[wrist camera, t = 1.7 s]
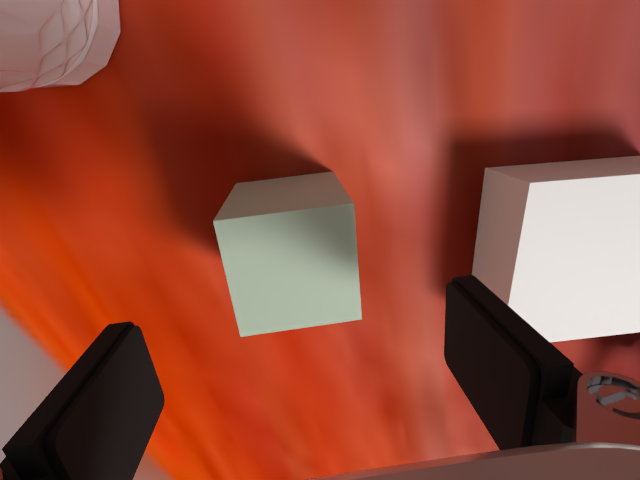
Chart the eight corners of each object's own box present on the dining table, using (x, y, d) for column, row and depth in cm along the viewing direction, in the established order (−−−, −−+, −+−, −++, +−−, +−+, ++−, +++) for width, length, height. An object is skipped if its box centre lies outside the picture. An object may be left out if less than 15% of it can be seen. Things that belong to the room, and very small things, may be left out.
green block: (236, 182, 17) (212, 221, 12) (332, 171, 18) (353, 203, 12) (253, 269, 19) (240, 336, 14) (340, 257, 20) (361, 319, 14)
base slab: (481, 166, 19) (530, 183, 15) (636, 154, 19) (720, 167, 15) (464, 306, 22) (500, 347, 18) (596, 292, 23) (656, 330, 19)
